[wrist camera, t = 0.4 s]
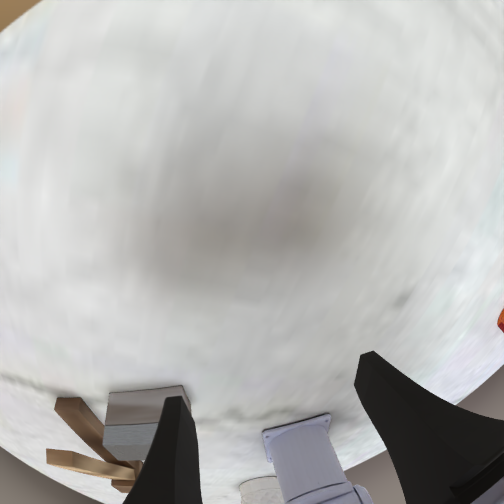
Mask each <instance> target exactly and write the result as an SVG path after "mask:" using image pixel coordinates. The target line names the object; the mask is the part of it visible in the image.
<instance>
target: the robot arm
mask: <svg viewBox="0 0 504 504" xmlns="http://www.w3.org/2000/svg"><path fill="white" fill-rule="evenodd" d="M354 386H355V389H356V391H357V394H358V396H359V399H360V401H361V403H362V405H363V407H364V409H365V411H366V413H367V414H368V416H369V418H370V419H371V421H372V423H373V425H374V426H375V428H376V430H377V431H378V433H379V435H380V437H381V438H382V440H383V442H384V444H385V446H386V448H387V450H388V452H389V454H390V457H391V459H392V462H393V464H394V467H395V469H396V472H397V475H398V478H399V480H400V484H401V487H402V490H403V493H404V496H405V500H406V504H504V421H503V420H498V419H493V418H489V417H485V416H482V415H479V414H476V413H473V412H470V411H468V410H465V409H463V408H460V407H458V406H455V405H453V404H451V403H449V402H447V401H445V400H443V399H441V398H439V397H438V396H436V395H434V394H433V393H431V392H429V391H428V390H426V389H424V388H423V387H421V386H420V385H418V384H417V383H415V382H414V381H413V380H411V379H410V378H408V377H407V376H406V375H404V374H403V373H402V372H400V371H399V370H398V369H396V368H395V367H394V366H392V365H391V364H390V363H389V362H387V361H386V360H385V359H383V358H382V357H381V356H380V355H378V354H377V353H376V352H374V351H371V352H368V353H365V354H362V355H360V359H359V364H358V369H357V373H356V378H355V382H354ZM330 420H331V416H330V414H326V415H323V416H319V417H316V418H313V419H309V420H306V421H302V422H299V423H295V424H291V425H287V426H283V427H279V428H275V429H271V430H266V431H264V432H263V433H262V435H263V440H264V445H265V450H266V455H267V460H268V462H269V463H271V462H273V465H274V468H275V472H276V475H277V479H278V482H279V486H280V489H281V492H282V496H283V499H284V502H285V503H283V504H374V503H373V501H372V499H371V497H370V495H369V493H368V491H367V490H366V489H365V488H364V487H362V486H359V485H355V486H352V484H351V482H350V481H349V482H348V481H347V479H346V476H345V474H344V472H343V469H342V467H341V465H340V462H339V460H338V458H337V455H336V453H335V451H334V448H333V446H332V444H331V441H330V439H329V437H328V431H329V425H330ZM123 504H203V503H202V497H201V489H200V472H199V453H198V441H197V434H196V428H195V422H194V420H193V418H192V416H191V414H190V412H189V410H188V407H187V405H186V403H185V401H184V399H183V397H182V395H180V396H172V397H166V398H165V400H164V405H163V409H162V413H161V416H160V420H159V423H158V426H157V429H156V432H155V435H154V438H153V441H152V444H151V447H150V449H149V452H148V454H147V457H146V459H145V462H144V464H143V466H142V469H141V471H140V473H139V475H138V477H137V479H136V481H135V483H134V485H133V487H132V488H131V490H130V492H129V494H128V495H127V497H126V499H125V500H124V502H123Z"/></svg>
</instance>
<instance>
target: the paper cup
mask: <svg viewBox="0 0 504 504" xmlns="http://www.w3.org/2000/svg"><path fill="white" fill-rule="evenodd" d="M497 325H498V327H499V328H500V329H501V330H502V331H503V333H504V309H503V311H502V312H501V314H500V316H499V319H498V323H497Z"/></svg>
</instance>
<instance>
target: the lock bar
mask: <svg viewBox="0 0 504 504" xmlns="http://www.w3.org/2000/svg"><path fill="white" fill-rule="evenodd" d="M157 426H158V423H153V424H139V425H118V426H105V428H104V436H103V446H104V447H105V448H106V449H107V450H108V451H109V452H110V453H111V454H112V455H113V456H114V457H115V458H116V459H117V460H118V461H133V460H145V459H146V457H147V454H148V452H149V449H150V447H151V444H152V441H153V438H154V435H155V432H156V429H157Z"/></svg>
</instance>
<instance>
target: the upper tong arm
mask: <svg viewBox="0 0 504 504" xmlns="http://www.w3.org/2000/svg"><path fill="white" fill-rule="evenodd" d="M46 457H47V464H50V465H53V466H57V467H60V468H64V469H68V470H72V471H75V472H80V473H84V474H88V475H93V476H98V477H103V478H108V479H114V480H135V473H134V469H131V468H126V467H122V466H119V465H115V464H111V463H108V462H104V461H101V460H97V459H94V458H91V457H88V456H85V455H82V454H79V453H76V452H73V451H66V450H55V449H47V448H46Z"/></svg>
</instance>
